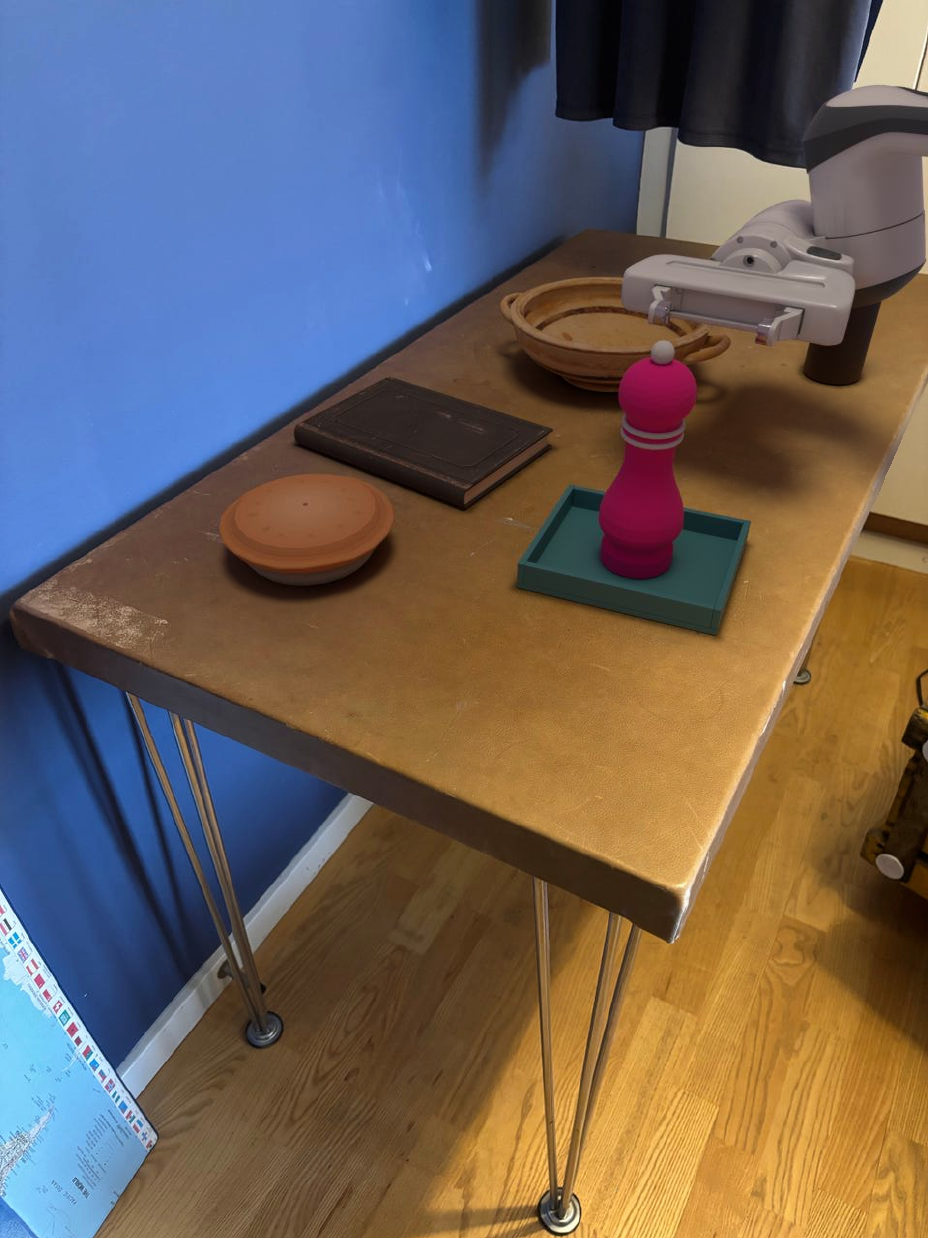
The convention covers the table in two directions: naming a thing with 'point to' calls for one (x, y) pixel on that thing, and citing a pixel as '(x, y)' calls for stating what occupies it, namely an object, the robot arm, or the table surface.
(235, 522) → the pie
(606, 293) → the ceramic bowl
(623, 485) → the pepper mill
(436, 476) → the hardcover book
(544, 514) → the table surface
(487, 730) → the table surface
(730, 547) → the tray
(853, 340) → the bottle
